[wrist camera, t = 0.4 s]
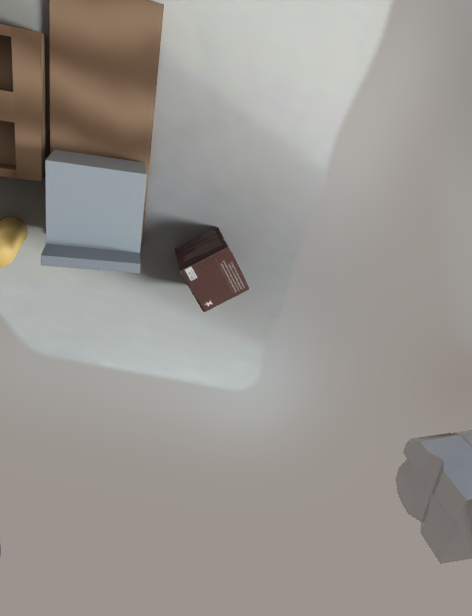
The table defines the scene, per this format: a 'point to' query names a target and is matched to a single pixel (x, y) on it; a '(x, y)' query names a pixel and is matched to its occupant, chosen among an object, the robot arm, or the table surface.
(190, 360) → the table surface
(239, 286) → the box
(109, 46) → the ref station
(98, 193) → the cover
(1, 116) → the board
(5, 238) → the pin
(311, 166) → the table surface
